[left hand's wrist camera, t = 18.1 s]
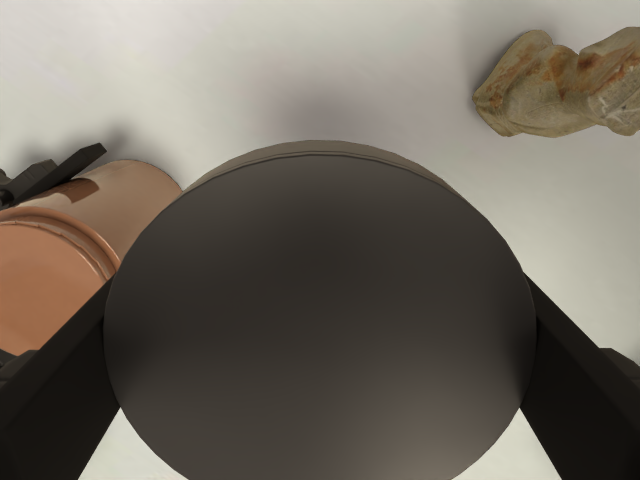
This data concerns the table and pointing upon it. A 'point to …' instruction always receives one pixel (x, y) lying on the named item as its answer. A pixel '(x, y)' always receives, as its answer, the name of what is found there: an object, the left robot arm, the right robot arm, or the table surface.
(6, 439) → the left robot arm
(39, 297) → the jar
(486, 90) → the sculpture
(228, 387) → the lid
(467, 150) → the table surface
